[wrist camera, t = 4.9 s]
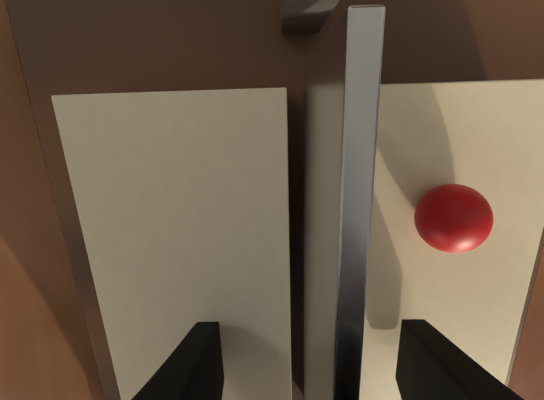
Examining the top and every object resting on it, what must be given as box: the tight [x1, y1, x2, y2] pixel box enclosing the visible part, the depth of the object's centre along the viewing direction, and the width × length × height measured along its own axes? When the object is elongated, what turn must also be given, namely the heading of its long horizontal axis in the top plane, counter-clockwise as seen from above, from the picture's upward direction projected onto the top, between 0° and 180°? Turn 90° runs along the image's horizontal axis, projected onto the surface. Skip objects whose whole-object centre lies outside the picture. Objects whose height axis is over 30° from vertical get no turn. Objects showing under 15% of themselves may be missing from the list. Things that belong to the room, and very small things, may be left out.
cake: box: [51, 79, 544, 400], centre depth 10 cm, size 14×12×5 cm
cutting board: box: [5, 0, 544, 400], centre depth 10 cm, size 24×18×8 cm
